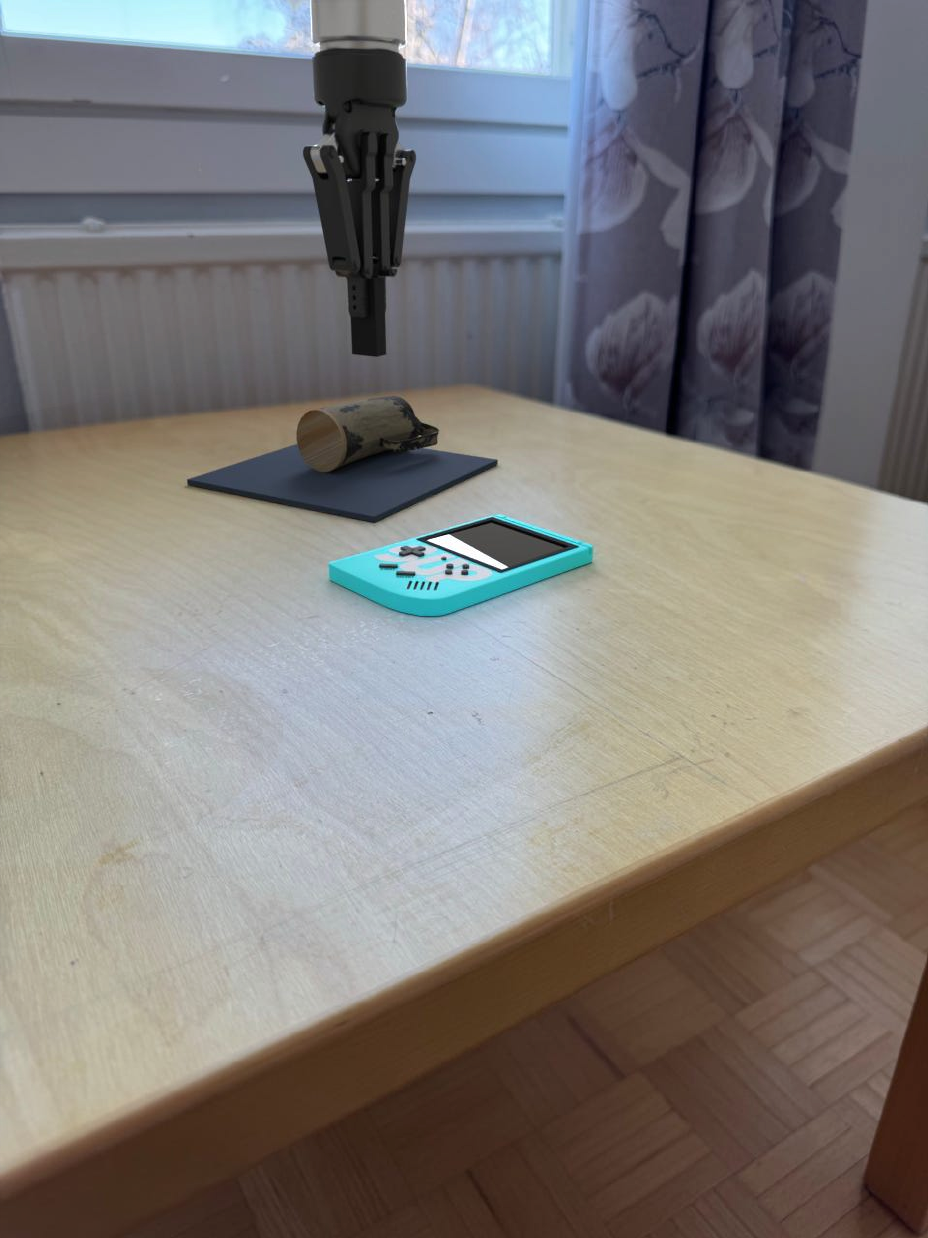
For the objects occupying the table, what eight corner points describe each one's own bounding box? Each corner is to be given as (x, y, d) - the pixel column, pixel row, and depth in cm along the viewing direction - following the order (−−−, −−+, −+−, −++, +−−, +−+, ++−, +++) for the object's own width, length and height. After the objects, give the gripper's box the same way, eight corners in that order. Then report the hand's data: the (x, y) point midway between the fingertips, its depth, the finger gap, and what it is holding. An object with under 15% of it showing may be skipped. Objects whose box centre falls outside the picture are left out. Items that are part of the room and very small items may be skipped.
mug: (297, 401, 85) (382, 383, 94) (292, 459, 88) (375, 437, 97) (366, 429, 82) (447, 408, 91) (358, 489, 84) (438, 463, 93)
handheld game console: (324, 577, 64) (323, 558, 64) (496, 526, 74) (496, 509, 74) (421, 624, 58) (420, 603, 57) (596, 560, 67) (597, 542, 67)
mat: (187, 484, 84) (186, 479, 84) (328, 437, 100) (328, 433, 100) (374, 522, 75) (374, 516, 75) (497, 464, 91) (497, 459, 90)
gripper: (368, 61, 83) (376, 341, 93) (268, 43, 73) (289, 360, 83) (442, 56, 80) (442, 348, 90) (347, 37, 70) (359, 368, 79)
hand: (369, 353), depth 86 cm, fingers closed
